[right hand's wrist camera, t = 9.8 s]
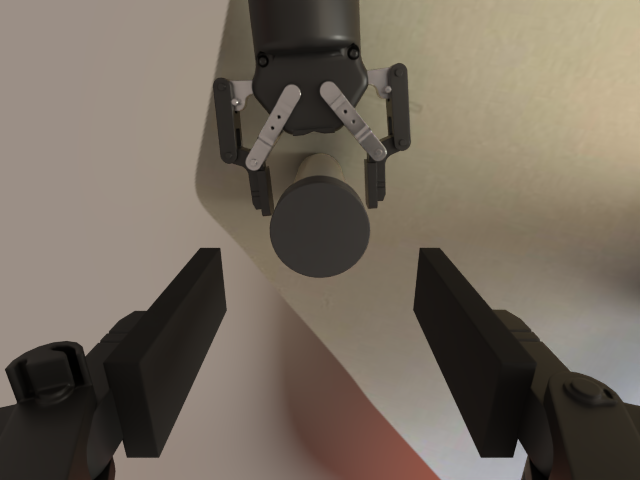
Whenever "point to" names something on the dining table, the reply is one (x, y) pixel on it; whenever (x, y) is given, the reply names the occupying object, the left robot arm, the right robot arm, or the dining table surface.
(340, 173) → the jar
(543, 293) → the dining table surface
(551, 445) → the right robot arm
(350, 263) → the lid
